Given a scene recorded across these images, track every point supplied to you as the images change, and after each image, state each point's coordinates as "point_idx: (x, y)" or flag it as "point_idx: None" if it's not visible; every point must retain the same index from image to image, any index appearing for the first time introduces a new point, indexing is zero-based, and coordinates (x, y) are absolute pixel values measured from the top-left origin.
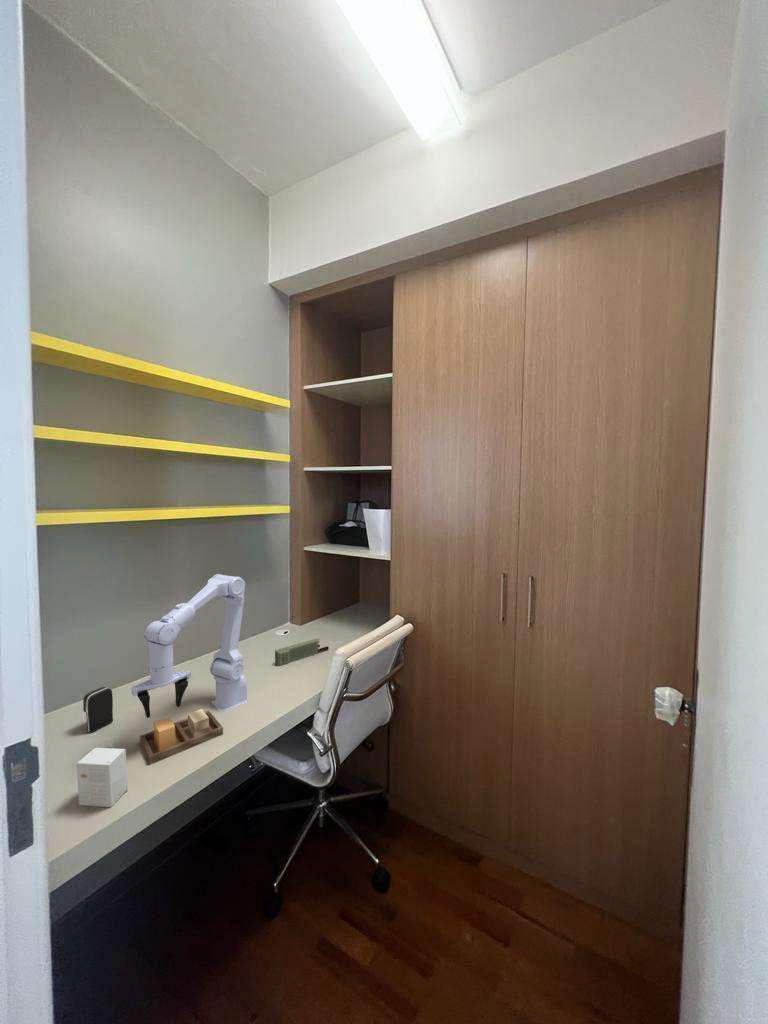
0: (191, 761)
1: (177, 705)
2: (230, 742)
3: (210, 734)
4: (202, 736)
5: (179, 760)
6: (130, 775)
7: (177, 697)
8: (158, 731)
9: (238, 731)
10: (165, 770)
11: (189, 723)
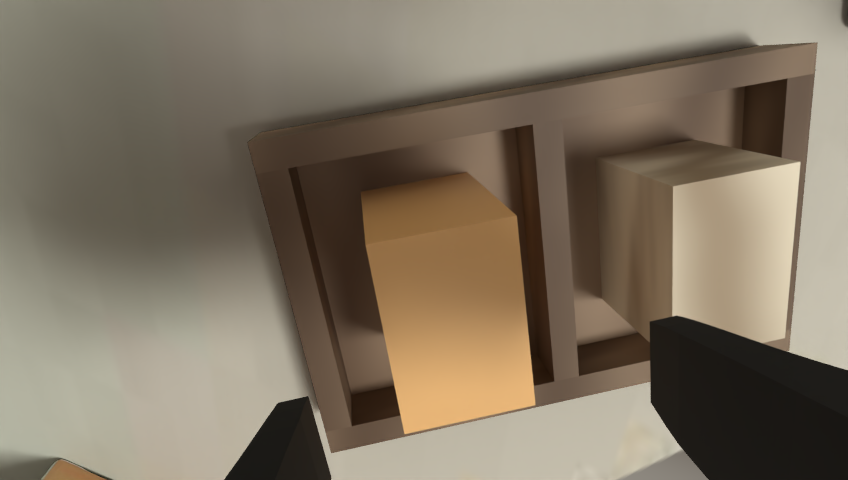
0: (537, 456)
1: (662, 405)
2: None
3: None
4: None
5: (484, 423)
6: (230, 432)
7: (745, 466)
8: (401, 416)
9: (826, 317)
10: (409, 468)
11: (632, 210)
